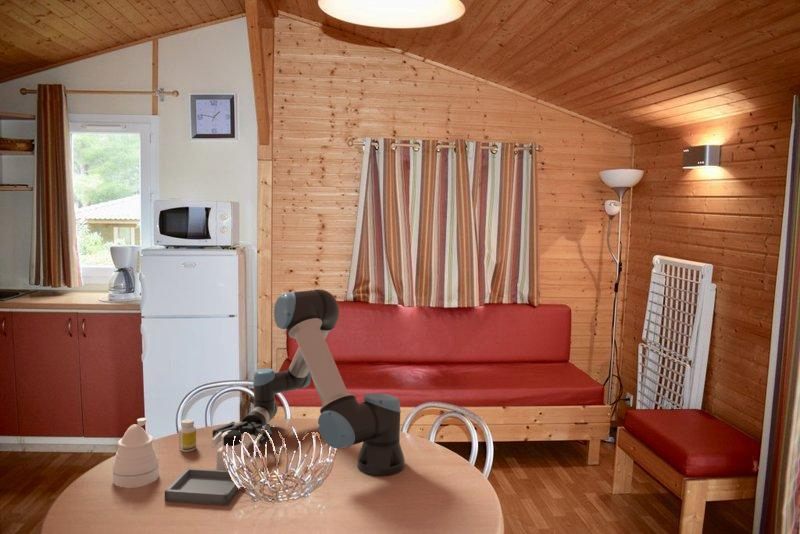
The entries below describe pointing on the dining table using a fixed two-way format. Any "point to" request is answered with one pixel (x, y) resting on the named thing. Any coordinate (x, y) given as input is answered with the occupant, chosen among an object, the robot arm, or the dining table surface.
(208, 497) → the tray
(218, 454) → the medicine bottle
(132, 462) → the honey pot
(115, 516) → the dining table surface
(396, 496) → the dining table surface
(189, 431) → the supplement bottle
